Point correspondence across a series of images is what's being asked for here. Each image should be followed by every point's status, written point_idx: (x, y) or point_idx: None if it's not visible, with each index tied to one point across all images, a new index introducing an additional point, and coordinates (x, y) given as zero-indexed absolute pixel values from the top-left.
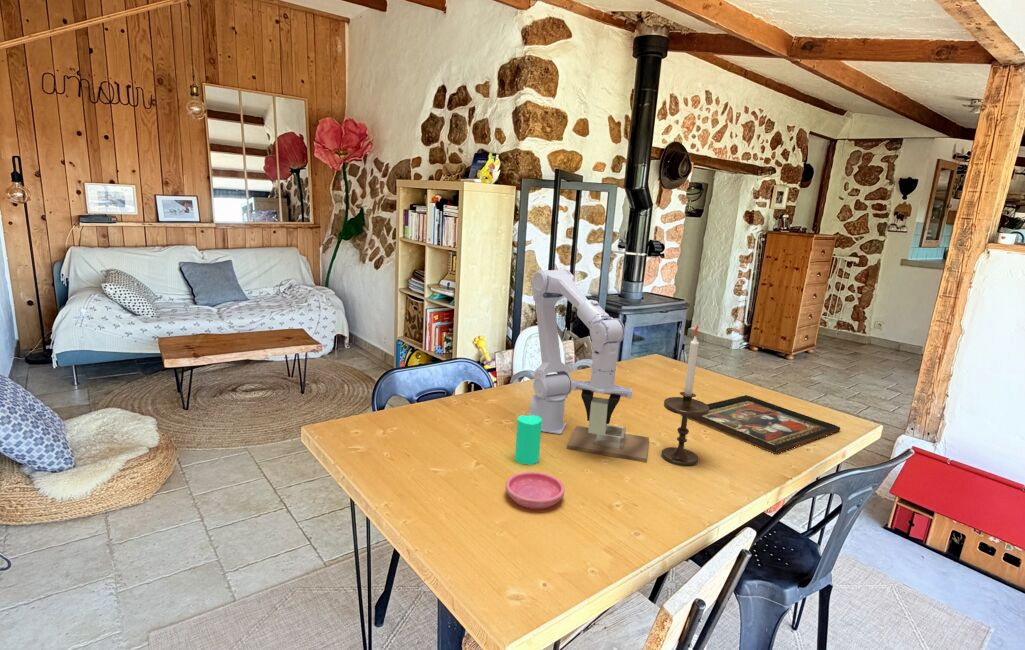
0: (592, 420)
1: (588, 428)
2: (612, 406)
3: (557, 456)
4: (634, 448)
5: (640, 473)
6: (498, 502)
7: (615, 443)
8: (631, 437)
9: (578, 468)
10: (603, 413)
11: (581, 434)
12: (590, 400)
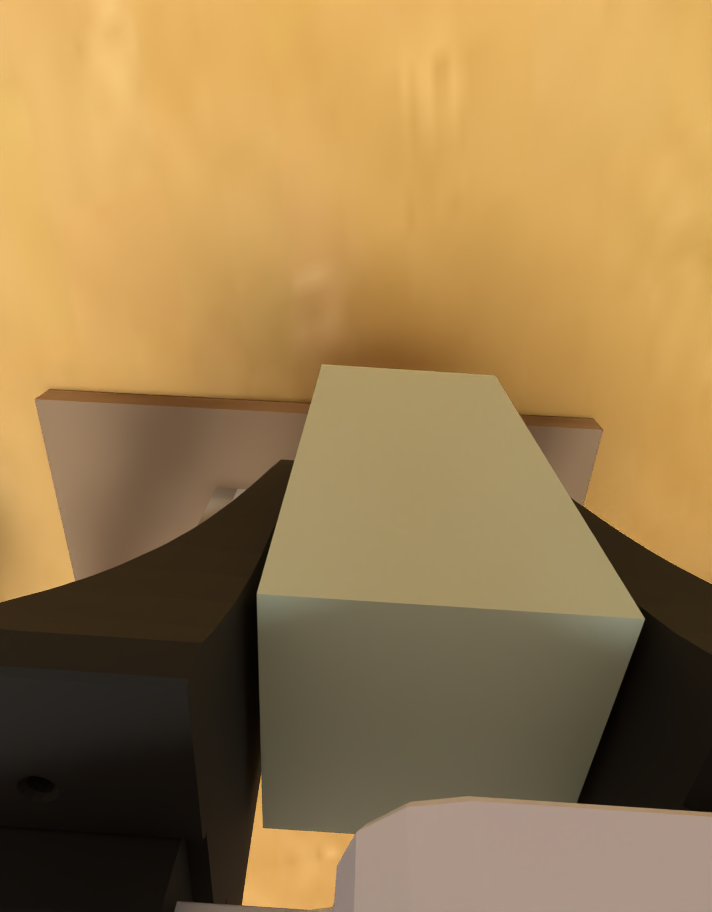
0: (488, 431)
1: None
2: (158, 577)
3: (672, 268)
4: (145, 522)
5: (41, 192)
6: None
7: None
8: None
9: (511, 96)
10: (343, 485)
11: None
12: (681, 640)
